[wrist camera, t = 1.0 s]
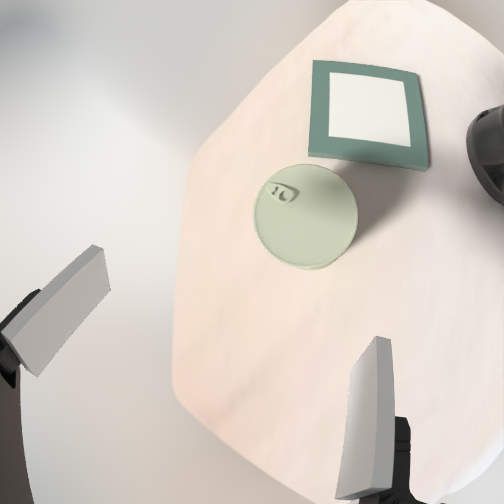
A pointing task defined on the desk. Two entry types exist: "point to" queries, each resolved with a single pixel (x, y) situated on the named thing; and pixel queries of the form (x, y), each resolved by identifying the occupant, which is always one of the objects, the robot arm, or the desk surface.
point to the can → (305, 216)
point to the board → (367, 115)
